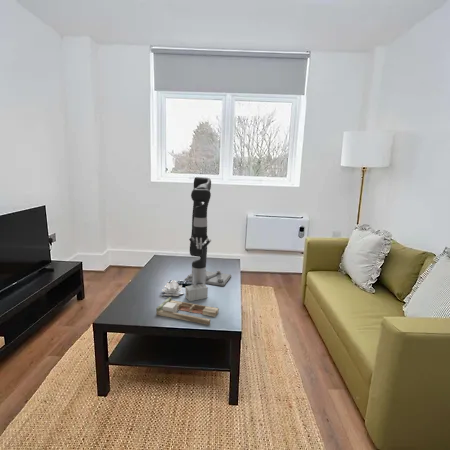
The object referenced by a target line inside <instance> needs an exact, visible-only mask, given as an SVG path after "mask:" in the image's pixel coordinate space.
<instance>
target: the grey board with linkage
mask: <svg viewBox="0 0 450 450" xmlns="http://www.w3.org/2000/svg"><path fill="white" fill-rule="evenodd" d="M231 277H232V275H231V273H230V274H229V273H222V271H221V270H220V269H218V270H216V272H215V271H214V272H213V271H207V270H206V285H212V286H218V287H224V286H225V285H226V284H227V283H228V281H229V280H230V279H231ZM185 280H189V281H188V282H191V281H192V272H191V273H189V274H188V275H187V276H186V278H184V281H185Z"/></svg>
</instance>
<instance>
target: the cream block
mask: <svg viewBox="0 0 450 450" xmlns="http://www.w3.org/2000/svg"><path fill="white" fill-rule="evenodd" d="M163 311H169V312H174V313H178V310H177V303H171V302H167V303H166V304H165V305H164V306H163Z"/></svg>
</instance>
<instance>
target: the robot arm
mask: <svg viewBox="0 0 450 450" xmlns="http://www.w3.org/2000/svg"><path fill="white" fill-rule="evenodd" d="M211 189H212V180H211V178H210V177H204V176H196V177H194V179H193V189H192V190H191V194H190V197H191V198H190V199H191V200H192V201H193V204H192V205H193V206H192V214H191V215H192V216H191V236H190V238H189V242H190V243H189V255H190V256H192V257H197V258H198V257H199V259H196V260H193V261H192V263H191V273H192V282H191V285H197V284H204V285H206V286H207V284H206V271H207V257H208V256H207V255H208V246H209V244H210V243H211V242H212V239H209V238H208V237H209V236H208V206H209V203H210V201H211V197H212V195H211V194H212V193H211ZM205 242H206V243H205Z"/></svg>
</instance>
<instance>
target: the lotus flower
mask: <svg viewBox="0 0 450 450" xmlns="http://www.w3.org/2000/svg"><path fill="white" fill-rule="evenodd" d="M161 291H162V292H164V295H163V296H166V297H167V296H170V297H171V296H173V297H179V296H180V295H184V294H185V292H182V291H183V284H179V283H178V282H177V281H175V280H174V279H173V280H172V281H170V282H167V283H166V285H164V288H162V289H161Z"/></svg>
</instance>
